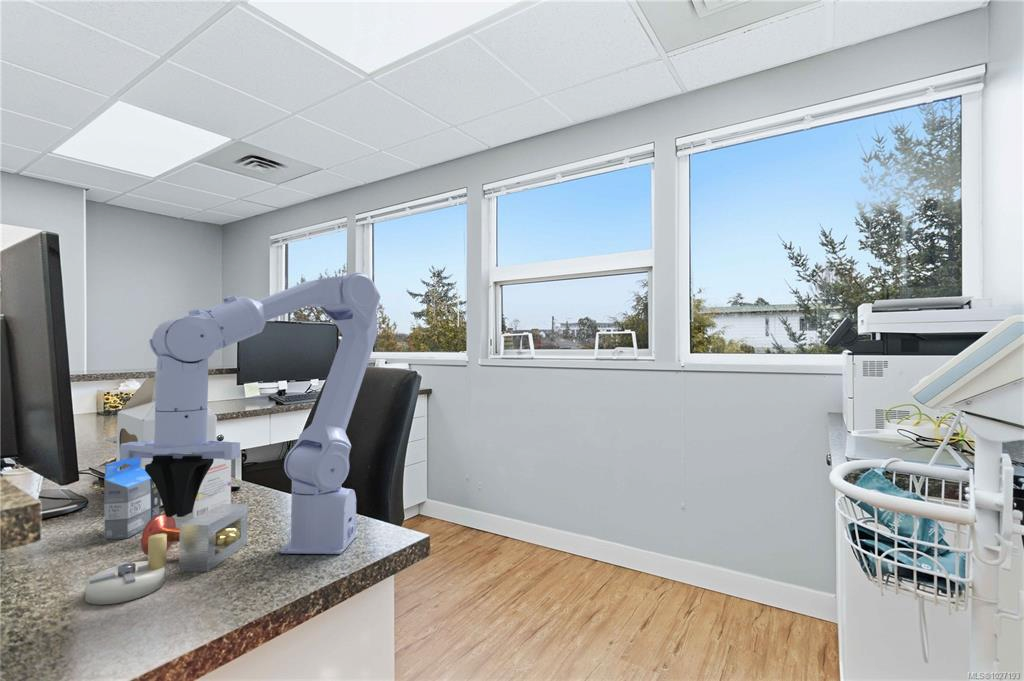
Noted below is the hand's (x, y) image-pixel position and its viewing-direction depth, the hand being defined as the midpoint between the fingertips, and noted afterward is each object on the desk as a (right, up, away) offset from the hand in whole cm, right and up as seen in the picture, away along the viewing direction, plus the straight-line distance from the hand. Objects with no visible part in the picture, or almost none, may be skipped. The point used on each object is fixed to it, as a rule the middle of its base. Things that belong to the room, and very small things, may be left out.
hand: (179, 514), depth 64 cm
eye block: (-1, -10, +10) cm, 14 cm away
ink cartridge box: (-11, -10, +22) cm, 26 cm away
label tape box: (-22, -10, +21) cm, 32 cm away
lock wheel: (-6, -9, -1) cm, 11 cm away
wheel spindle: (-6, -7, -1) cm, 10 cm away
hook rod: (-4, -9, +10) cm, 14 cm away
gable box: (-33, -11, +44) cm, 56 cm away
